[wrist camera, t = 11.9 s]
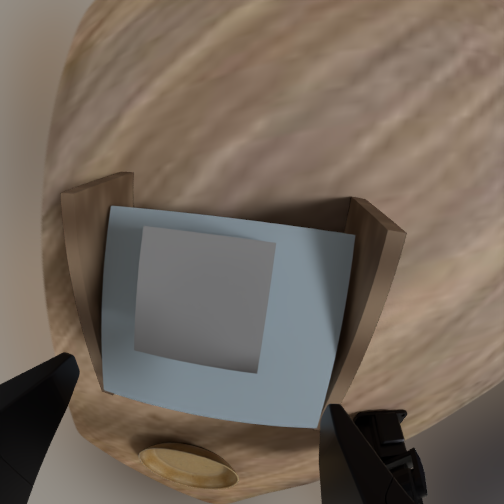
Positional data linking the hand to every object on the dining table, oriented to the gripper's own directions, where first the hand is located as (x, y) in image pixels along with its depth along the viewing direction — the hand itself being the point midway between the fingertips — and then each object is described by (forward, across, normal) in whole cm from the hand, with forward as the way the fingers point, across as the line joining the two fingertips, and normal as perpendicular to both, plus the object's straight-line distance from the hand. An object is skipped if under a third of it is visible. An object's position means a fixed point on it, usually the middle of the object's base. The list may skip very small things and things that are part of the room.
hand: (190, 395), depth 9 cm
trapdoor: (+11, 0, +4) cm, 12 cm away
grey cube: (+8, 0, 0) cm, 8 cm away
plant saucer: (+13, +4, +34) cm, 37 cm away
